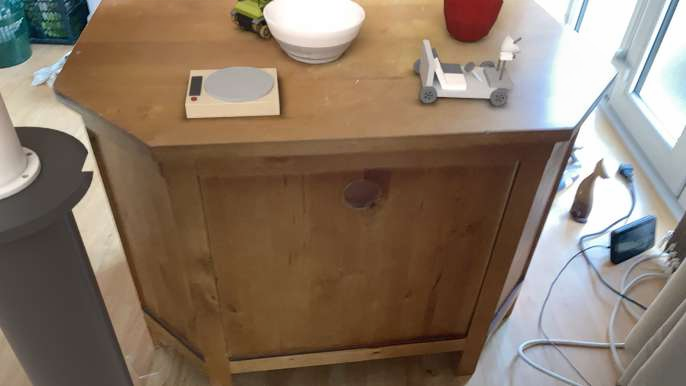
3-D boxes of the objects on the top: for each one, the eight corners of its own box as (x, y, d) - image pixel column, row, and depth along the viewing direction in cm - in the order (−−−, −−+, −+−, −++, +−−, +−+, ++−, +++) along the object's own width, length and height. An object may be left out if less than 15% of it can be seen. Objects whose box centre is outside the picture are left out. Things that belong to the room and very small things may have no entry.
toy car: (518, 26, 101) (535, 55, 92) (506, 75, 108) (521, 106, 99) (419, 22, 101) (426, 50, 92) (412, 72, 107) (418, 103, 98)
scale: (187, 118, 91) (184, 101, 90) (192, 82, 101) (190, 66, 99) (279, 115, 93) (279, 98, 91) (276, 80, 103) (276, 64, 101)
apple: (442, 50, 115) (453, -15, 107) (433, 27, 124) (442, -35, 116) (500, 51, 116) (515, -14, 107) (486, 28, 125) (499, -34, 116)
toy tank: (307, 22, 123) (307, -24, 117) (258, 43, 114) (255, -6, 108) (280, 12, 127) (279, -34, 121) (230, 31, 118) (226, -17, 112)
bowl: (245, 48, 112) (242, 7, 107) (319, 24, 123) (320, -14, 118) (307, 85, 102) (307, 42, 96) (382, 56, 112) (386, 15, 107)
